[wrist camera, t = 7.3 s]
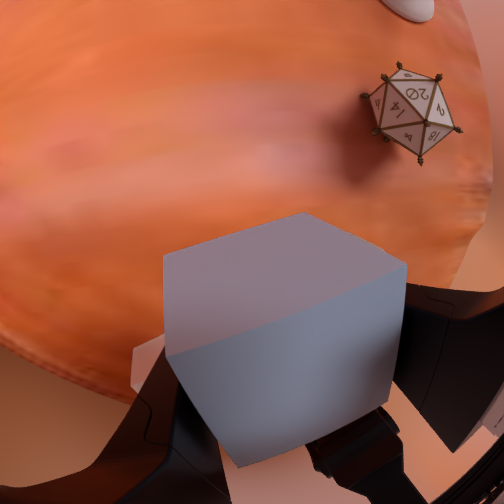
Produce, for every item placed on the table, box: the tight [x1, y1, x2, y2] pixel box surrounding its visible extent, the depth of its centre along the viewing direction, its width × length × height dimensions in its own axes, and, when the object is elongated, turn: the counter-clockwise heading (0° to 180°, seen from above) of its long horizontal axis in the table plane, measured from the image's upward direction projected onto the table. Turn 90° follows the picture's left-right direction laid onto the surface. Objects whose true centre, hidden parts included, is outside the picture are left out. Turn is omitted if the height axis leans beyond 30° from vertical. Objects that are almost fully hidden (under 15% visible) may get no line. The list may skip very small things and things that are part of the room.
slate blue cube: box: [163, 212, 407, 468], centre depth 8 cm, size 5×5×5 cm
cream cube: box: [130, 334, 165, 393], centre depth 22 cm, size 5×5×5 cm
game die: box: [360, 61, 464, 167], centre depth 18 cm, size 9×8×10 cm
